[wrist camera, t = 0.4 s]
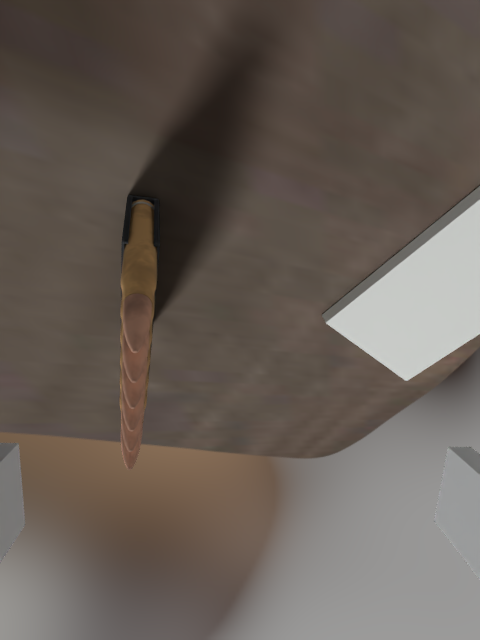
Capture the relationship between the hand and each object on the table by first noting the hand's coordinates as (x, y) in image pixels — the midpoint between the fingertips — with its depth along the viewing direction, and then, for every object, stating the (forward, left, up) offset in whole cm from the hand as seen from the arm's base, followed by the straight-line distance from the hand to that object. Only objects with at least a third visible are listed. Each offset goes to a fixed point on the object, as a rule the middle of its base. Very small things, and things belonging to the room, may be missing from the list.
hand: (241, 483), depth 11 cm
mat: (+5, +22, -17) cm, 28 cm away
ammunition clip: (+3, -4, -17) cm, 18 cm away
